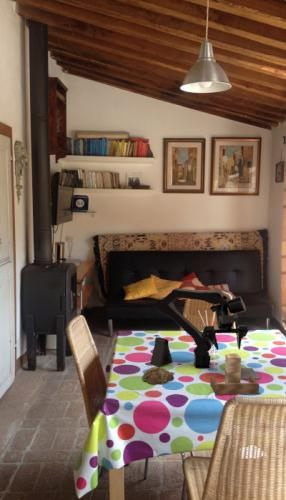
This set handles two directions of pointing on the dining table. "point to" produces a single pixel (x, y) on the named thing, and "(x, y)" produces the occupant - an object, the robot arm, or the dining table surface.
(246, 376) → the mat
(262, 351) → the dining table surface
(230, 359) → the maple block
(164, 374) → the bread roll
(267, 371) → the dining table surface
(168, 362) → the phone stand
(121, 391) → the dining table surface
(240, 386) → the nook
